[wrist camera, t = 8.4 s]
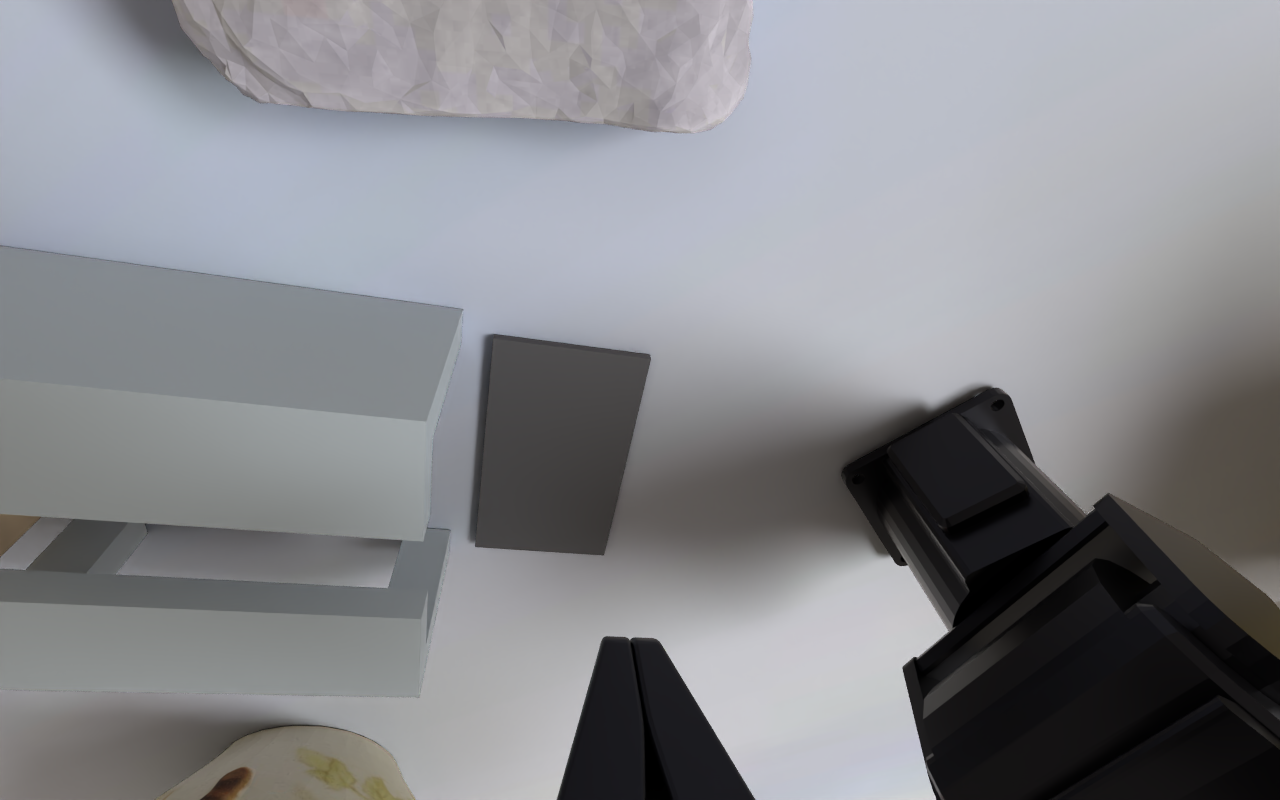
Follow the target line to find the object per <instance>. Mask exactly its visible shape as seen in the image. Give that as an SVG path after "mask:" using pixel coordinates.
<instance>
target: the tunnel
mask: <svg viewBox="0 0 1280 800" xmlns="http://www.w3.org/2000/svg"><path fill="white" fill-rule="evenodd" d="M462 320H463V309H456V308H449V307H442V306H435V305H427V304H420V303H413V302H405V301H398V300H391V299H384V298H376V297H369V296H362V295H354V294H347V293H340V292H333V291H325V290H318V289H311V288H303V287H296V286H289V285H282V284H274V283H267V282H260V281H252V280H245V279H238V278H231V277H223V276H216V275H209V274H202V273H194V272H187V271H180V270H172V269H165V268H158V267H151V266H143V265H136V264H129V263H121V262H114V261H107V260H100V259H92V258H85V257H78V256H70V255H63V254H56V253H49V252H41V251H34V250H27V249H19V248H12V247H5V246H0V514H8V515H24V516H39V517H54V518H70V519H73V521H72V522H71V523H70V524H69V525H68V526H67V527H66V528H65V529H64V530H63V531H62V532H61V533H60V534H59V535H58V536H57V537H56V538H55V540H54V541H53V542H52V543H51V544H50V545H49V546H48V547H47V548H46V549H45V550H44V551H43V552H42V553H41V554H40V555H39V556H38V557H37V558H36V560H35V561H34V562H33V563H32V564H31V565H30V566H29V567H28V568H27V569H26V570H13V569H0V690H25V691H81V692H137V693H193V694H249V695H304V696H360V697H416V698H419V696H420V691H421V686H422V682H423V677H424V672H425V667H426V662H427V657H428V653H429V648H430V643H431V638H432V633H433V628H434V624H435V619H436V614H437V609H438V604H439V599H440V595H441V590H442V585H443V580H444V575H445V571H446V566H447V561H448V556H449V548H450V530H442V529H428V528H427V525H428V521H429V518H430V511H431V481H432V451H433V437H434V433H435V430H436V427H437V423H438V420H439V417H440V413H441V410H442V407H443V403H444V400H445V396H446V393H447V390H448V386H449V383H450V380H451V376H452V373H453V370H454V366H455V363H456V360H457V356H458V353H459V350H460V346H461V337H462ZM145 523H146V524H162V525H177V526H192V527H208V528H223V529H238V530H254V531H269V532H284V533H300V534H315V535H330V536H345V537H361V538H376V539H391V540H402V543H401V547H400V550H399V553H398V557H397V560H396V563H395V567H394V570H393V573H392V577H391V580H390V583H389V587H388V588H369V587H350V586H330V585H310V584H290V583H270V582H251V581H231V580H211V579H191V578H171V577H152V576H132V575H116V573H117V572H118V571H119V570H120V568H121V567H122V566H123V564H124V563H125V562H126V561H127V559H128V558H129V557H130V556H131V554H132V553H133V552H134V550H135V549H136V548H137V547H138V545H139V544H140V543H141V541H142V540H143V539H144V538H145V536H146V535H147V534H148V533H147V530H146V526H145Z"/></svg>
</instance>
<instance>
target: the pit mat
mask: <svg viewBox="0 0 1280 800" xmlns="http://www.w3.org/2000/svg"><path fill="white" fill-rule="evenodd" d="M650 361H651V358H650V355H649V354H641V353H633V352H626V351H618V350H610V349H603V348H595V347H587V346H580V345H572V344H565V343H557V342H549V341H542V340H534V339H526V338H519V337H511V336H503V335H496V334H494V337H493V347H492V358H491V370H490V381H489V393H488V404H487V416H486V427H485V439H484V451H483V462H482V474H481V485H480V497H479V508H478V520H477V531H476V543H475V547H483V548H498V549H514V550H529V551H545V552H560V553H576V554H591V555H604V553H605V548H606V544H607V540H608V536H609V532H610V528H611V523H612V519H613V515H614V511H615V507H616V503H617V498H618V494H619V490H620V486H621V482H622V477H623V473H624V469H625V465H626V461H627V457H628V452H629V448H630V444H631V440H632V436H633V432H634V427H635V423H636V419H637V415H638V411H639V406H640V402H641V398H642V394H643V390H644V386H645V381H646V377H647V373H648V369H649V365H650Z"/></svg>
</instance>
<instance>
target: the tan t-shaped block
mask: <svg viewBox="0 0 1280 800" xmlns="http://www.w3.org/2000/svg"><path fill="white" fill-rule="evenodd" d="M40 518H41V517H39V516H24V515H8V514H0V557H1V556H2V555H3V554H4V553H5V552H6V551H7V550H8V549H9V548H10V547H11V546H12V545H13V544H14V543H15V542H16V541H17V540H18V539H19V538H20V537H21V536H22V535H23V534H24V533H26V532H27V531H28V530H29V529H30V528H31V527H32V526H33V525H34V524H35V523H36V522H37V521H38V520H39V519H40Z"/></svg>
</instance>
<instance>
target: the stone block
mask: <svg viewBox="0 0 1280 800" xmlns="http://www.w3.org/2000/svg"><path fill="white" fill-rule="evenodd" d="M172 3H173V5H174V8H175V11H176V14H177V17H178V20H179V23H180V26H181V28H182V30H183V31H184V32H185V33H186V35H187V36H188V37H189V38H190V40H191V41H192V42H193V43H194V45H195V46H196V47H197V48H198V50H199V51H200V52H201V53H202V54H203V56H204V57H206V58H208V59H209V60H210V61H211V63H212V64H213V65H214V66H215V67H216V69H217V70H218V71H219V72H220V73H221V74H222V75H223V76H224V77H225V79H226V80H228V81H229V82H231V83H232V84H233V85H235V86H236V87H237V88H238V89H239V90H240V92H241V93H242V94H243V95H245V96H247V97H250V98H251V99H253V100H255V101H257V102H259V103H274V104H284V105H294V106H301V107H308V108H318V109H328V110H338V111H350V112H375V113H390V114H406V115H421V116H446V117H501V118H531V119H545V120H560V121H571V122H579V123H595V124H608V125H614V126H620V127H626V128H631V129H637V130H644V131H650V132H673V133H697V132H702V131H707V130H711V129H712V128H714V127H716V126H717V125H719V124H721V123H722V122H724V121H725V120H726V119H727V118H728V117H729V116H730V115H731V114H732V112H733V111H734V110H735V108H736V107H737V106H738V104H739V103H740V102H741V101H742V99H743V98H744V94H745V91H746V88H747V84H748V77H749V70H750V64H751V55H750V50H749V34H750V29H751V24H752V20H753V0H172Z"/></svg>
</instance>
